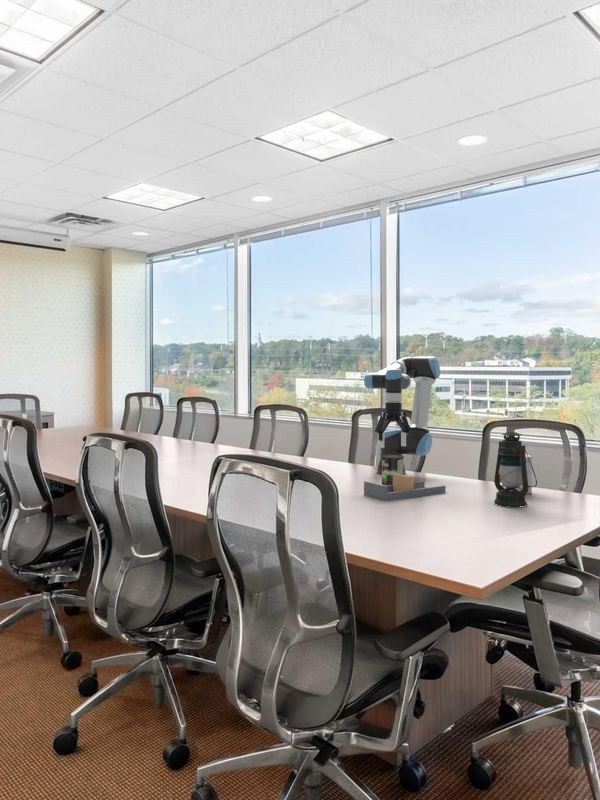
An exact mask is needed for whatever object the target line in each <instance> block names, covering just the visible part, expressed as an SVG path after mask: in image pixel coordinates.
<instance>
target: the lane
mask: <svg viewBox="0 0 600 800" xmlns="http://www.w3.org/2000/svg"><path fill="white" fill-rule="evenodd" d="M443 493H446V485H436V486H428V487H425V481H424V480H419V481H413V490H405V491H398V492H393V485H386V486H384V485H382V484H380V483H374V482H371V481H367V480H366V481H365V480H364V481H363V496H367V497H370V498H374V499H378V500H381V501H385V502H389V501H395V500H401V499H409V498H410V499H411V498H416V497H422V496H429V495H437V494H443Z"/></svg>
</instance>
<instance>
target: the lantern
mask: <svg viewBox="0 0 600 800" xmlns="http://www.w3.org/2000/svg"><path fill="white" fill-rule="evenodd" d="M501 435H503V439H502V440H501V441H500V440H499V442H498V449H497V450H498V451H497V457H496V464H495V465H496V466H495V473H494V482H493V483H494V486H495V488H496V490H497V492H496V495H495V499H494V502H493V504H494V503H495V504H494V505H496V504H497V505H496V506H498V505H501V506H500V507H503V506H510V507H509V508H521V507H520V506H525V505H527V506H528V504H527V503H528V502H527V500H526V495H528V494H527V492H528V488H529V487H532V488H535V487H537V484H538V480H537V476H536V473H535V470H534V467H533V463H532V464H531V462H530V464H531V467H532V474H533V475H534V478H535V485H532V486H528V478H527V468H526V455H525V454H527V456H528V455H529V454H528V453H527V449H526V447H527V446H526V445H525V444H523V445H522V440H520V438H521V437H520V436H523V434H521V433H519V432H513V431H508V432H504V433H501ZM528 459H529V457H528ZM529 461H530V459H529ZM521 483H522V484H521ZM520 484H521V485H523V489H520V488H519V487H520V486H519V485H520ZM515 488H519V489H520V490H521V491H518V490H516V489H515Z"/></svg>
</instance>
